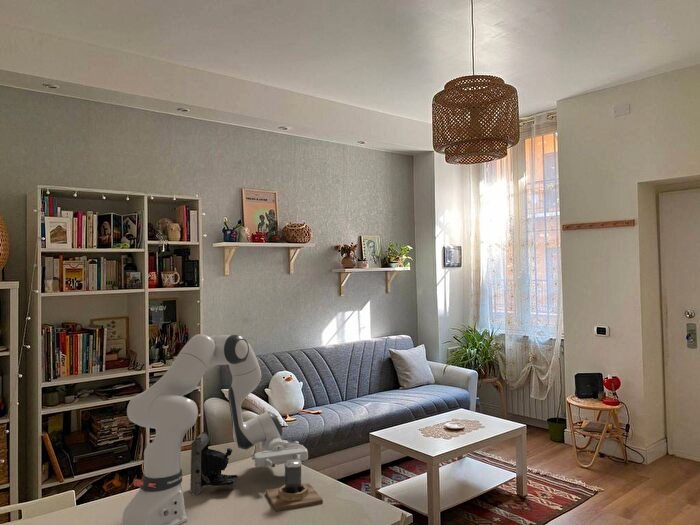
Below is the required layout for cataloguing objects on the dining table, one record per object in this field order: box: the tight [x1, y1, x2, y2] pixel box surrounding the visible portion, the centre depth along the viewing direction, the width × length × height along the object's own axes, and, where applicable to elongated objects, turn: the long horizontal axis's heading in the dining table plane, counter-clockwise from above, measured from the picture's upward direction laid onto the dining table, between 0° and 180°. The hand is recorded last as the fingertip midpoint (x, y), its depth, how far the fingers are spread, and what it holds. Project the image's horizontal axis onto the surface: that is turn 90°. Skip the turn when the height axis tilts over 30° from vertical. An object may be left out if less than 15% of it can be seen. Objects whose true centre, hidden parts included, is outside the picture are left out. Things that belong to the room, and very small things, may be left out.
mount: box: [265, 482, 324, 512], centre depth 184 cm, size 16×16×3 cm
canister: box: [284, 459, 302, 494], centre depth 185 cm, size 6×6×11 cm
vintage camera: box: [190, 431, 240, 496], centre depth 193 cm, size 10×16×20 cm, turn 89°
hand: (285, 463), depth 195 cm, fingers open, 8 cm apart
